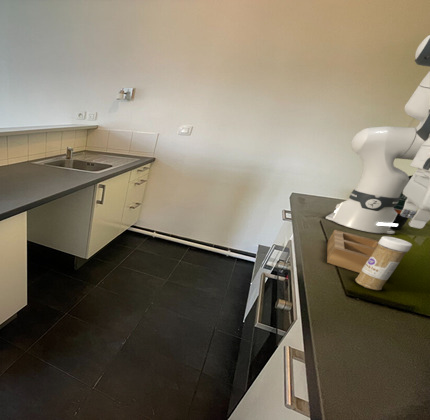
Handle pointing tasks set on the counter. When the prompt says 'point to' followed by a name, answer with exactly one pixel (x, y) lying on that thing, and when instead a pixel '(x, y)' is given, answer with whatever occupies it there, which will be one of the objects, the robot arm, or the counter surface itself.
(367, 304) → the counter surface
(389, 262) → the sprinkles bottle
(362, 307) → the counter surface
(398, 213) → the wine bottle
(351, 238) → the hole block
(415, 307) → the counter surface
